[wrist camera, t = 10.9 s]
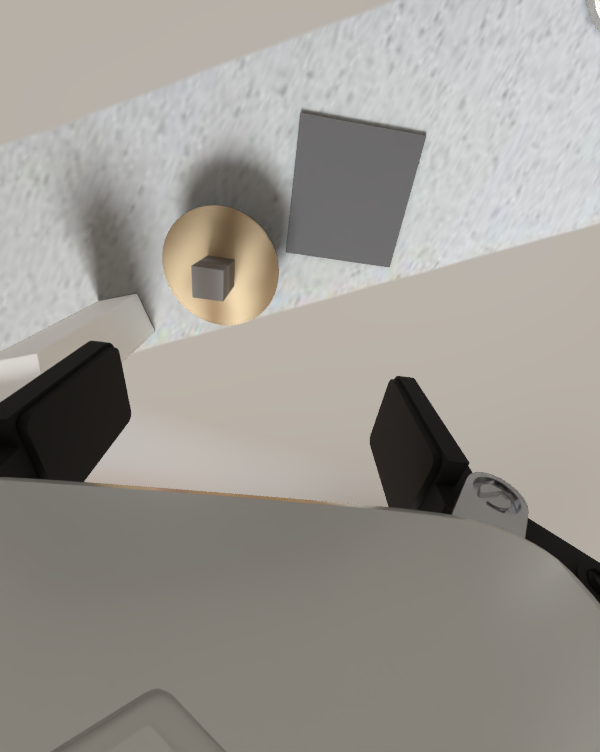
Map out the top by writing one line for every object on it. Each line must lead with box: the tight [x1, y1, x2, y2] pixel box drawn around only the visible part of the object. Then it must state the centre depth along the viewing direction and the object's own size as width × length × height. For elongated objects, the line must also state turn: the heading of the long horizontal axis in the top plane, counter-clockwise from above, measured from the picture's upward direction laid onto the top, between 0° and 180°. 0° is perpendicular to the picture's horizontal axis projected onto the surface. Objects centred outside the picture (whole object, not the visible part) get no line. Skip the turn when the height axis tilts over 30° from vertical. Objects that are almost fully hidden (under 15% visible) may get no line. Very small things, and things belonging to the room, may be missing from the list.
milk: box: [0, 294, 155, 402], centre depth 34 cm, size 6×6×22 cm
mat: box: [286, 113, 426, 267], centre depth 36 cm, size 14×14×1 cm
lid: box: [162, 205, 279, 325], centre depth 32 cm, size 13×13×7 cm
